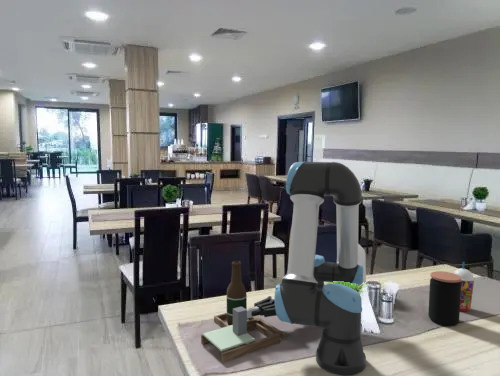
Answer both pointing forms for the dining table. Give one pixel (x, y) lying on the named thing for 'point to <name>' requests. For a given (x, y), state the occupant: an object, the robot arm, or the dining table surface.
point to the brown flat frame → (244, 349)
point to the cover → (231, 332)
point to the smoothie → (465, 288)
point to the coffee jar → (444, 298)
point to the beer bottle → (235, 292)
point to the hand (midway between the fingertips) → (242, 315)
